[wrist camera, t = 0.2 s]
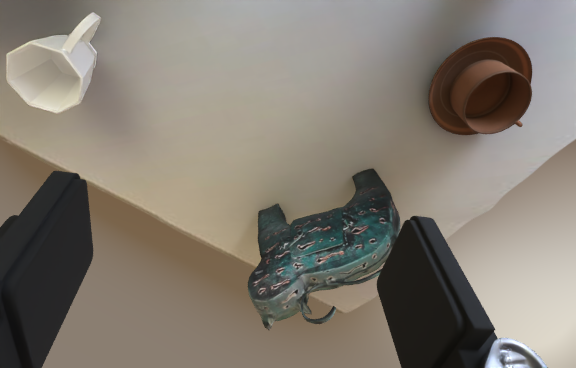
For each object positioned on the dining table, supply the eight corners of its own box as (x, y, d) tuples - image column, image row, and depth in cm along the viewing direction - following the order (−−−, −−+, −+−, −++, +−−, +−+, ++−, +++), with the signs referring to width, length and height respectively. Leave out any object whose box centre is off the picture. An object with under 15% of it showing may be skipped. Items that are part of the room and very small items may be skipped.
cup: (30, 55, 44) (-10, 82, 37) (75, -19, 40) (38, -4, 33) (90, 96, 47) (63, 127, 40) (137, 31, 43) (115, 54, 36)
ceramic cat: (261, 235, 61) (262, 357, 44) (241, 205, 57) (234, 325, 41) (386, 188, 57) (437, 302, 41) (373, 153, 54) (424, 262, 37)
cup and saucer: (544, 49, 47) (578, 66, 42) (487, 137, 53) (511, 161, 48) (455, 19, 44) (481, 34, 39) (406, 115, 51) (423, 138, 46)
